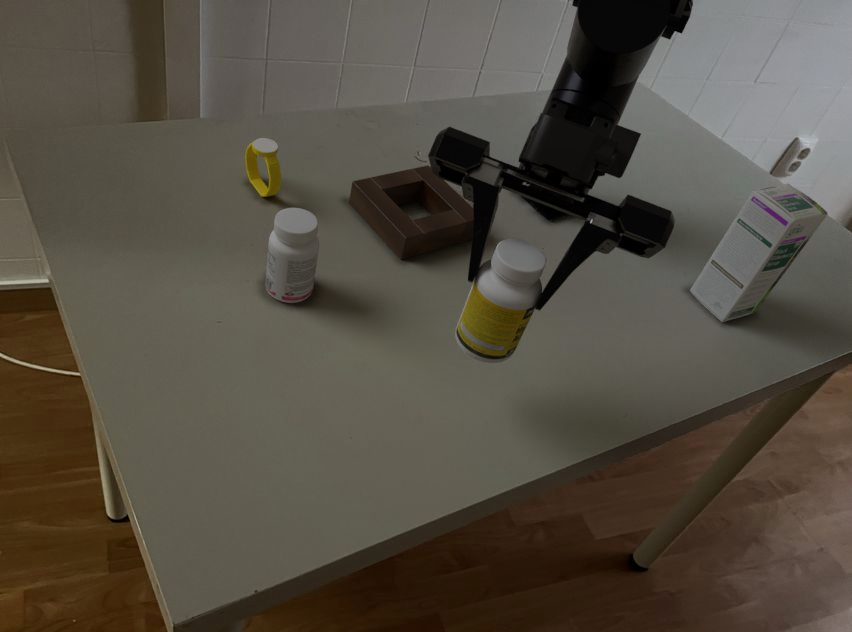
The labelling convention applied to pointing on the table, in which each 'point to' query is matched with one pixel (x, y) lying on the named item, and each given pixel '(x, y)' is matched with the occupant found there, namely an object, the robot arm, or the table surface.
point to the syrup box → (757, 251)
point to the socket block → (395, 228)
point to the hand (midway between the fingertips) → (503, 295)
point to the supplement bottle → (501, 301)
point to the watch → (268, 151)
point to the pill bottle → (292, 255)
